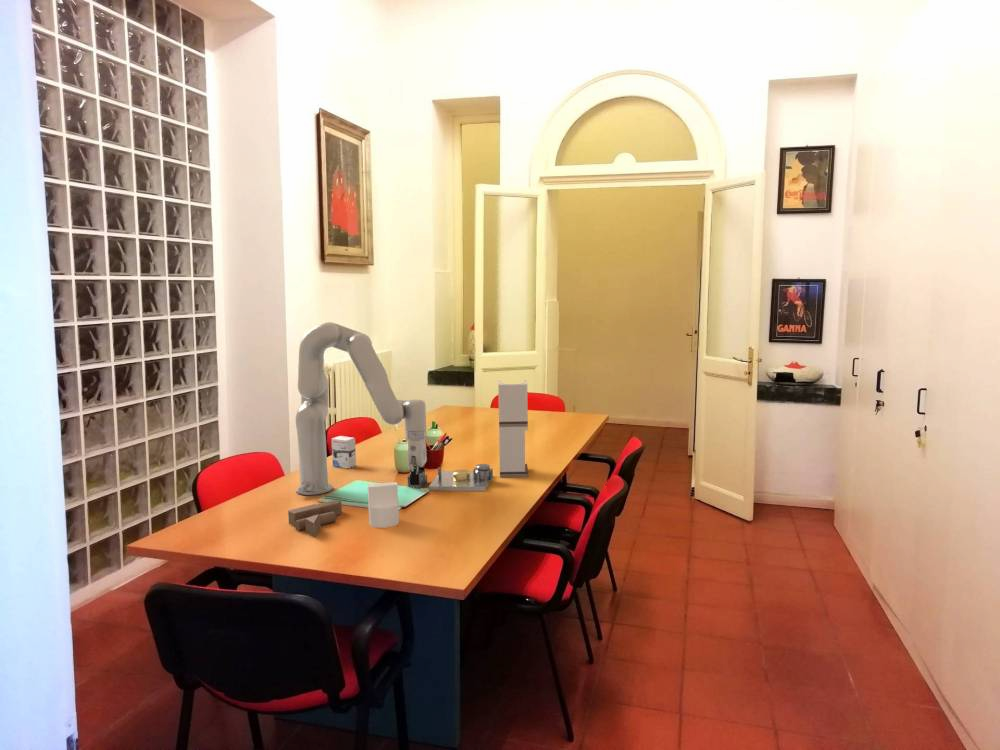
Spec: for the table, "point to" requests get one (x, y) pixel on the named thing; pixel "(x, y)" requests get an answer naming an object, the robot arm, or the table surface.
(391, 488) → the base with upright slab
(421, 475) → the planet gear
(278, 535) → the table surface
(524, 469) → the grey tall pillar
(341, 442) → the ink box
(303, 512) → the wooden block set
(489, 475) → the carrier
